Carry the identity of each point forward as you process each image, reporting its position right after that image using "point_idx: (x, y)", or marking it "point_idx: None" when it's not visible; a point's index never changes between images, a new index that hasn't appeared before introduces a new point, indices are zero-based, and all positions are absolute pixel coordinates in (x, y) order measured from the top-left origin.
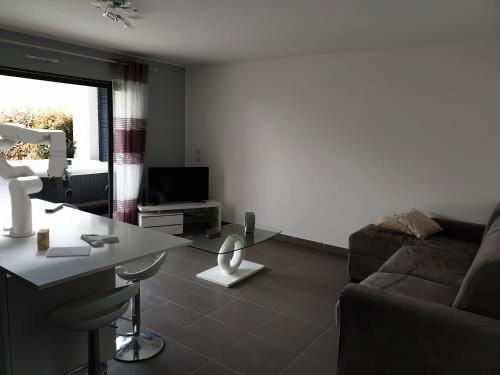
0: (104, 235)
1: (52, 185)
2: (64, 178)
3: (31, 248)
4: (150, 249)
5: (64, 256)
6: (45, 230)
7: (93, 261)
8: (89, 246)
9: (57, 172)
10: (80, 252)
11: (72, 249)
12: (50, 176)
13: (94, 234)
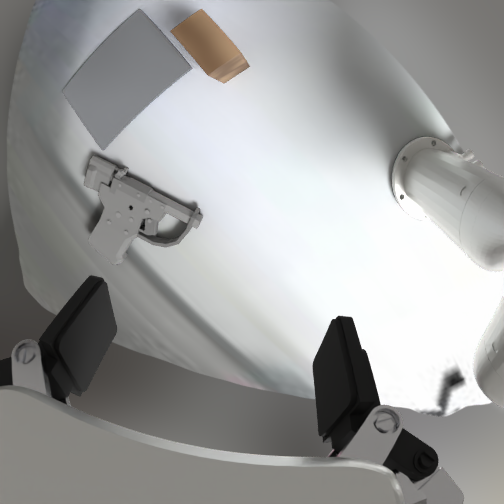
0: (121, 236)
1: (327, 337)
2: (24, 365)
3: (259, 37)
4: (18, 215)
5: (103, 44)
6: (199, 48)
7: (37, 75)
8: (103, 144)
9: (29, 473)
10: (85, 88)
11: (119, 91)
12: (367, 445)
13: (168, 244)
